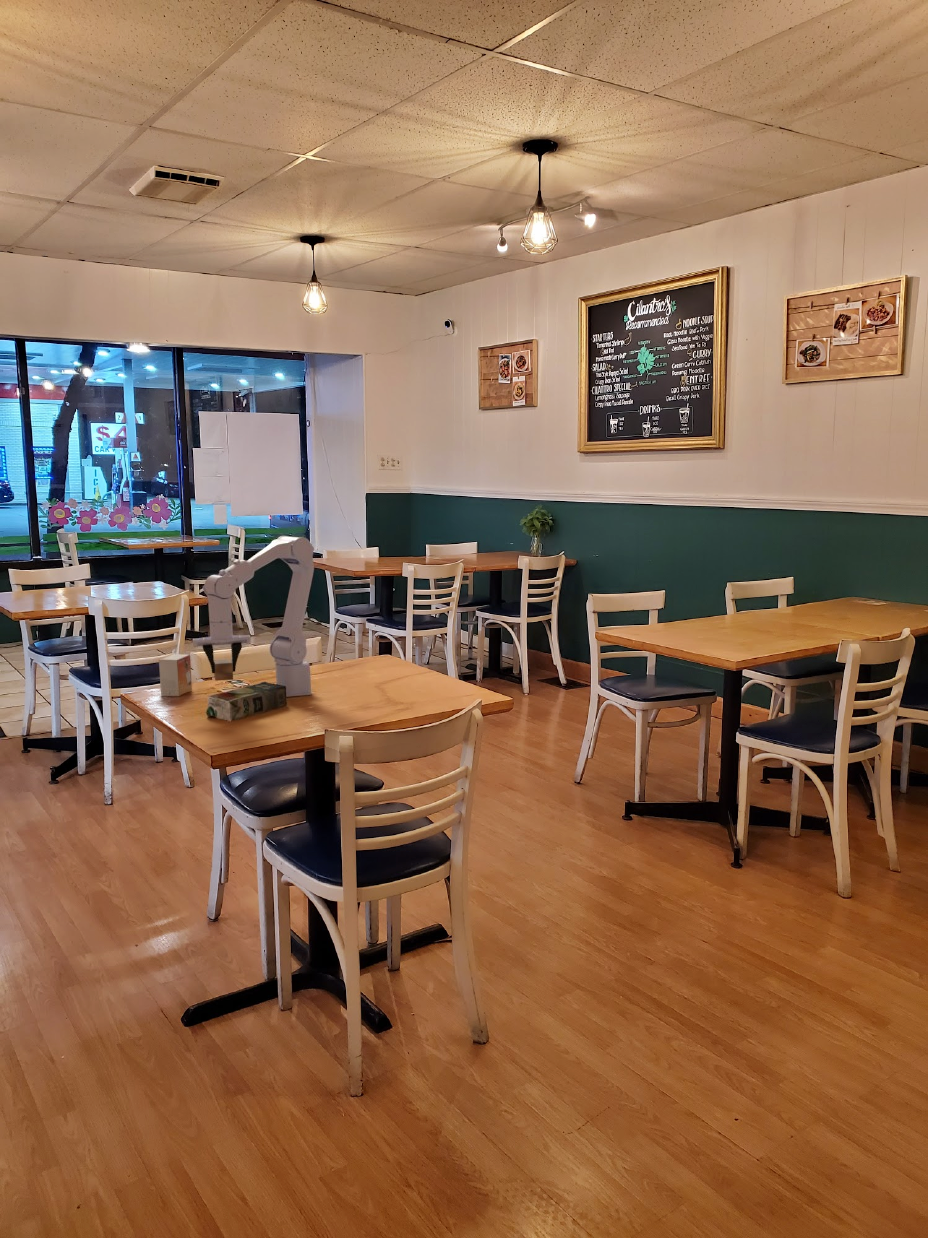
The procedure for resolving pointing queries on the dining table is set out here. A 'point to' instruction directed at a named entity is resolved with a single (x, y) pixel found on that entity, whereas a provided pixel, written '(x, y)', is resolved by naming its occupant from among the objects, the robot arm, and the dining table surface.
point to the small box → (175, 675)
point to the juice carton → (246, 701)
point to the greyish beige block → (223, 670)
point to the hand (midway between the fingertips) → (223, 671)
